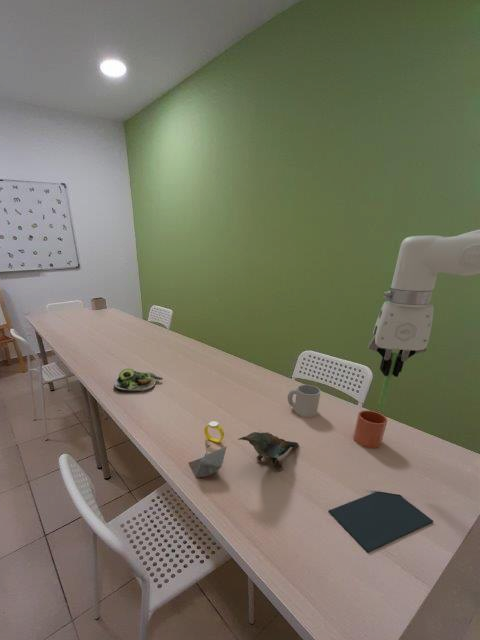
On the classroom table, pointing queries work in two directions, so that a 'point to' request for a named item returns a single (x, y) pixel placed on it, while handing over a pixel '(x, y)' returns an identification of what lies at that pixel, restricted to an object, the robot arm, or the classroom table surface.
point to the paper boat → (208, 463)
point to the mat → (379, 519)
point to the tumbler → (369, 429)
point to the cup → (305, 400)
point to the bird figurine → (269, 446)
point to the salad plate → (135, 381)
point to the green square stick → (388, 380)
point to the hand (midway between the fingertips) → (389, 373)
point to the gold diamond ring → (214, 425)
